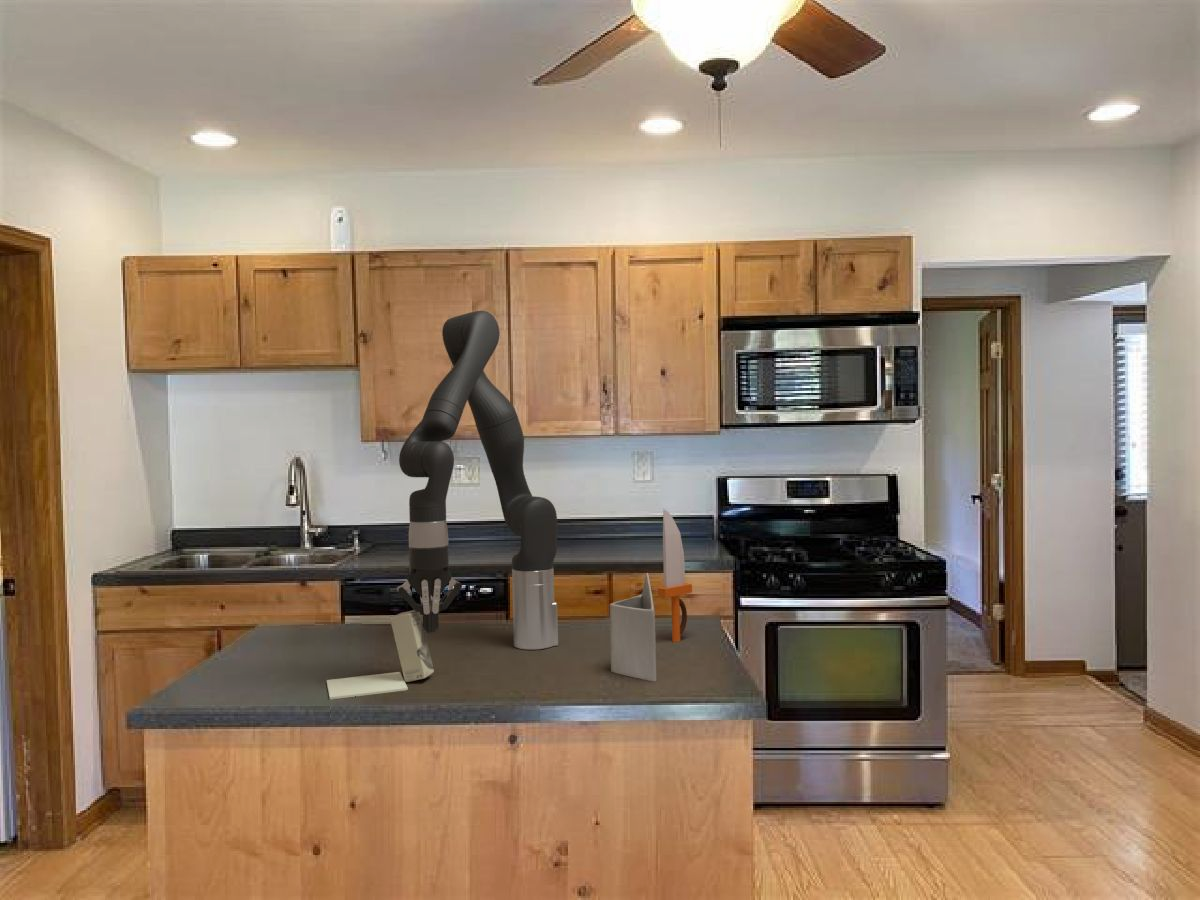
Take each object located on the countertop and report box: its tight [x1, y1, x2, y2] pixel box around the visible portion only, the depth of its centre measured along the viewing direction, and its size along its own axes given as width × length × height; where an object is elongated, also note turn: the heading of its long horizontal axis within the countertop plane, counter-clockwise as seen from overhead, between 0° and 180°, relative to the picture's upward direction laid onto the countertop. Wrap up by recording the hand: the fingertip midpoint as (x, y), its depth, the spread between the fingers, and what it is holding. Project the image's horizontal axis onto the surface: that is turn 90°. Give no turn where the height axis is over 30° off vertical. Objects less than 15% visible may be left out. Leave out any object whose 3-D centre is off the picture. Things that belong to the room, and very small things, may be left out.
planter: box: [609, 572, 657, 683], centre depth 176 cm, size 16×8×19 cm, turn 4°
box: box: [389, 609, 435, 683], centre depth 174 cm, size 5×4×13 cm
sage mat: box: [326, 671, 409, 701], centre depth 170 cm, size 14×12×1 cm
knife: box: [657, 508, 693, 643], centre depth 199 cm, size 8×2×30 cm, turn 129°
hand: (430, 632), depth 174 cm, fingers closed
